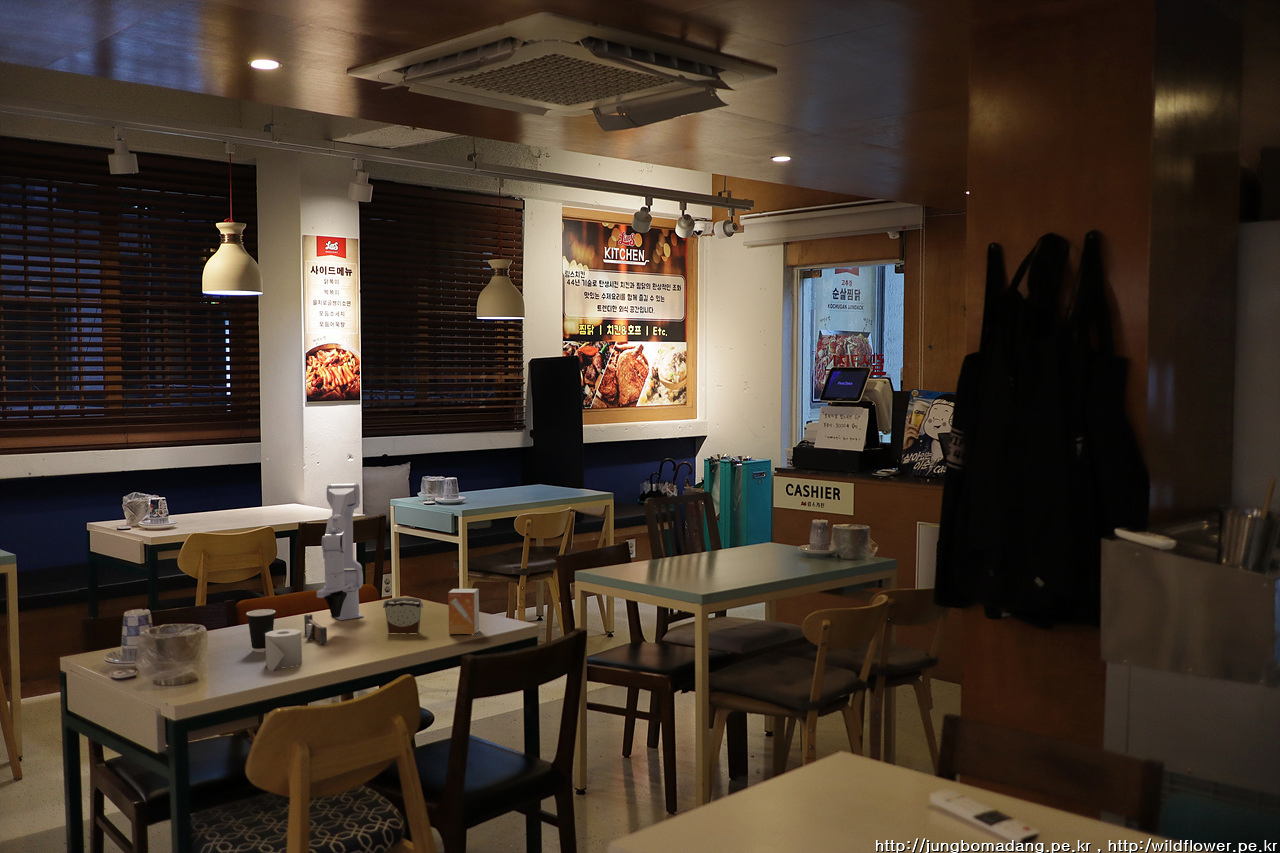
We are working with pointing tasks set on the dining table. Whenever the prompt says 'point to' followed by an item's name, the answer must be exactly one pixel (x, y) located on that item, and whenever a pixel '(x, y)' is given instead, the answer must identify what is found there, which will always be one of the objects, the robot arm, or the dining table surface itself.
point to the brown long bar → (319, 632)
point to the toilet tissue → (283, 648)
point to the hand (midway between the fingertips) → (335, 616)
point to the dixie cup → (260, 627)
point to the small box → (463, 611)
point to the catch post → (310, 631)
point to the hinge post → (306, 618)
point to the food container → (403, 615)
